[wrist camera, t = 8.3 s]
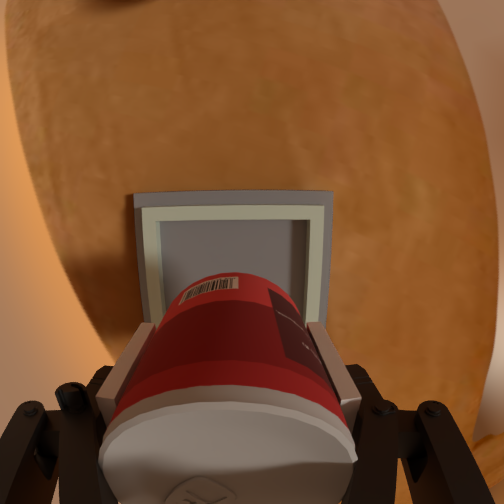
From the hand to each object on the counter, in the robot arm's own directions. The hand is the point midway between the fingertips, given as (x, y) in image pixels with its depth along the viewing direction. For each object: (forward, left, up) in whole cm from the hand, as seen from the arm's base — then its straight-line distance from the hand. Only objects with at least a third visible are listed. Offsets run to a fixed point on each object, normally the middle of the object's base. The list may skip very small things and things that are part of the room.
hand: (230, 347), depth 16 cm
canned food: (0, 0, -2) cm, 2 cm away
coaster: (0, 0, -10) cm, 10 cm away
